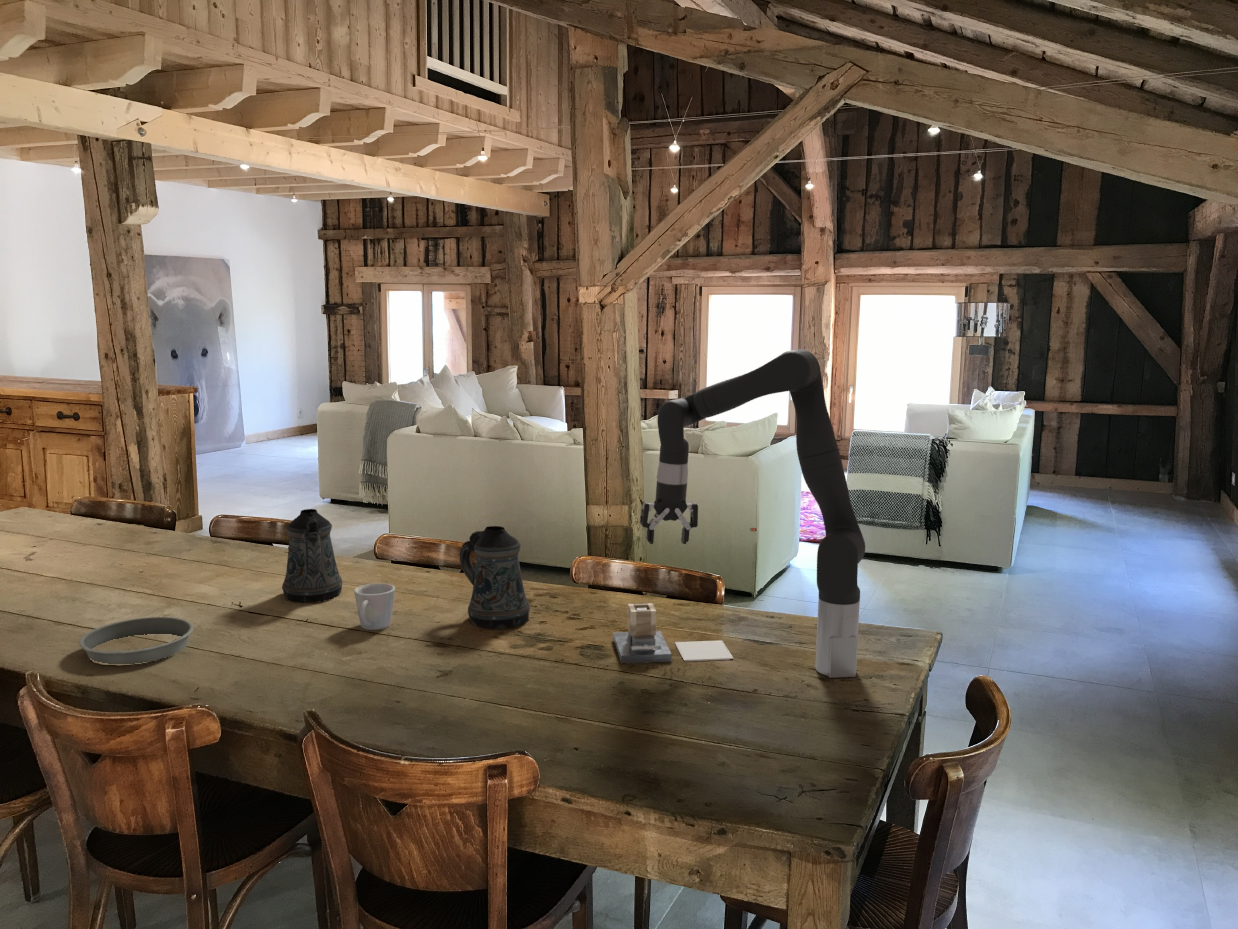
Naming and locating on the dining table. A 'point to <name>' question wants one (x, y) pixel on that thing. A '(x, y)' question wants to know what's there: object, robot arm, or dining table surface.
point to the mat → (703, 650)
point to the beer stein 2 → (495, 580)
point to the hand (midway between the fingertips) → (667, 543)
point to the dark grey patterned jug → (311, 560)
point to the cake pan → (137, 628)
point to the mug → (375, 605)
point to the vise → (641, 647)
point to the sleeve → (641, 619)
